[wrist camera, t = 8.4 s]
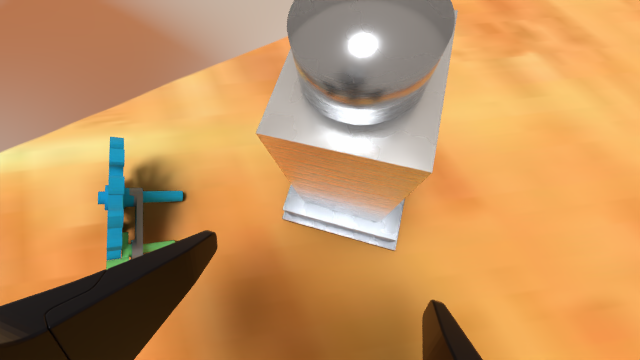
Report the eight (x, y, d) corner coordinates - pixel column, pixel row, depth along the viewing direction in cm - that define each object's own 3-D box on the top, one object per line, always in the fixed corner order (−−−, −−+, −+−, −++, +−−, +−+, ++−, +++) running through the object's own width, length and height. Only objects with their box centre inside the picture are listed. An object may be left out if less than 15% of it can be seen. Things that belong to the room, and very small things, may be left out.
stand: (393, 250, 20) (402, 249, 17) (283, 219, 21) (274, 213, 19) (412, 146, 22) (423, 130, 20) (314, 126, 24) (310, 109, 21)
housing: (378, 222, 18) (464, 142, 5) (304, 202, 19) (230, 96, 6) (396, 141, 20) (487, -54, 7) (327, 127, 21) (305, -65, 8)
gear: (101, 158, 23) (98, 113, 16) (171, 162, 27) (192, 128, 20) (97, 273, 21) (91, 281, 14) (173, 259, 25) (198, 260, 18)
